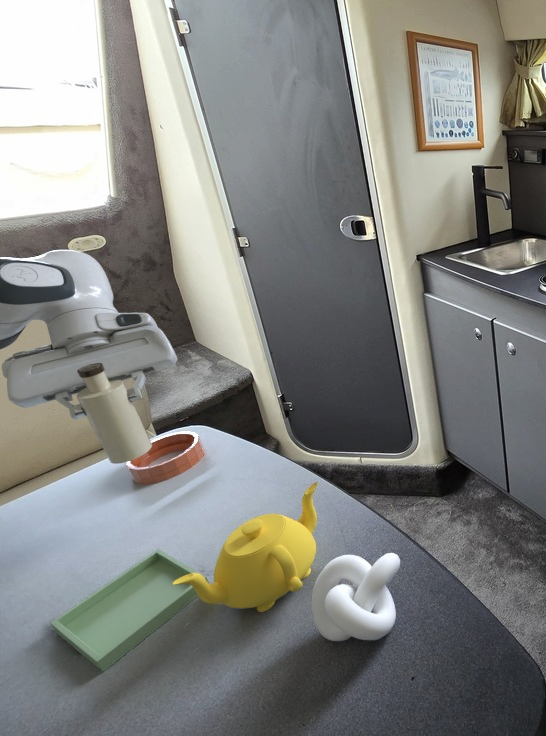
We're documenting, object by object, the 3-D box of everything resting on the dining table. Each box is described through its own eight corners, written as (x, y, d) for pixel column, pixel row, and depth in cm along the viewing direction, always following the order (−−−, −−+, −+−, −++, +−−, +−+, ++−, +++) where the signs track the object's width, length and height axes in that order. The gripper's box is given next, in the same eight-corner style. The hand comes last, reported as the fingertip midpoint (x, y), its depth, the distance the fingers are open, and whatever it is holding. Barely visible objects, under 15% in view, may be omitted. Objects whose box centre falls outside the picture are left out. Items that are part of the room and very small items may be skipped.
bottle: (102, 458, 84) (58, 373, 78) (141, 439, 89) (102, 356, 83) (120, 467, 82) (75, 379, 76) (159, 446, 87) (120, 362, 80)
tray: (56, 632, 70) (49, 623, 69) (163, 557, 81) (158, 548, 80) (103, 672, 65) (96, 662, 64) (211, 586, 76) (206, 576, 75)
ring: (123, 480, 99) (113, 460, 97) (187, 445, 108) (179, 426, 107) (154, 496, 94) (144, 476, 92) (218, 458, 104) (211, 438, 102)
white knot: (420, 632, 68) (408, 586, 65) (323, 685, 62) (304, 638, 59) (402, 570, 77) (391, 528, 74) (316, 612, 71) (300, 568, 68)
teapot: (234, 670, 64) (204, 610, 60) (178, 619, 71) (148, 562, 67) (365, 551, 81) (349, 497, 76) (310, 519, 87) (292, 468, 83)
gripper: (-11, 349, 76) (6, 430, 73) (159, 310, 88) (181, 378, 85) (8, 364, 81) (26, 440, 78) (167, 325, 93) (188, 389, 90)
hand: (108, 407), depth 81 cm, fingers closed on bottle, 5 cm apart
